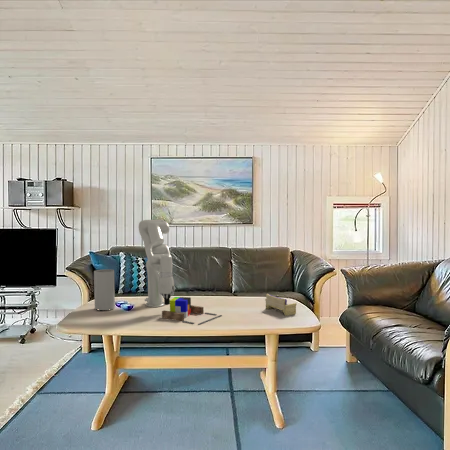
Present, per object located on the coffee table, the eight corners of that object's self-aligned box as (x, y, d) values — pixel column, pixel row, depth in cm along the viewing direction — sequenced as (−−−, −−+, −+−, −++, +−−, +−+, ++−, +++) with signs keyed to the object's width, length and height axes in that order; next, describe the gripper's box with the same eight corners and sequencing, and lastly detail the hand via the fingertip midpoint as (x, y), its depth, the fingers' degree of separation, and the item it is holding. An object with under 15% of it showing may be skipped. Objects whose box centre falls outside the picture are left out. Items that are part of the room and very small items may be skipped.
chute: (162, 317, 237) (161, 311, 237) (184, 310, 255) (184, 304, 255) (181, 321, 229) (181, 314, 229) (203, 313, 247) (203, 306, 246)
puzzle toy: (186, 317, 237) (185, 301, 237) (169, 317, 239) (169, 300, 239) (190, 313, 247) (190, 297, 246) (175, 313, 249) (175, 296, 248)
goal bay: (182, 322, 228) (182, 321, 228) (205, 313, 247) (205, 312, 247) (199, 325, 221) (199, 324, 221) (221, 315, 240) (221, 315, 240)
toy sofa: (297, 314, 243) (296, 297, 243) (285, 316, 239) (285, 299, 239) (275, 307, 261) (275, 291, 261) (264, 309, 257) (264, 293, 257)
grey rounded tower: (113, 306, 269) (112, 268, 268) (116, 310, 258) (115, 271, 257) (93, 308, 263) (92, 270, 263) (96, 312, 252) (95, 272, 251)
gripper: (153, 275, 249) (153, 304, 249) (171, 276, 241) (172, 306, 241) (161, 273, 255) (162, 302, 255) (179, 274, 247) (180, 304, 247)
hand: (167, 304), depth 248 cm, fingers closed
